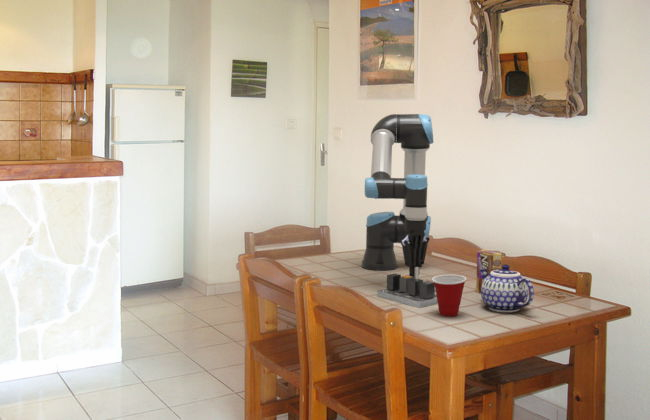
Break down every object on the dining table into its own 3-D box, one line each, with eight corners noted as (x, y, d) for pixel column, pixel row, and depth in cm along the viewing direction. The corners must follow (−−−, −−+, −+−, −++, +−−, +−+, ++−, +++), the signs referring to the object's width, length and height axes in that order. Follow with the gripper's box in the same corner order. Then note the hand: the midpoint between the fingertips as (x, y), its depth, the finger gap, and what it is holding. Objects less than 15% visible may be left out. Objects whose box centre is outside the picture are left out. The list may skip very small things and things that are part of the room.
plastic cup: (423, 312, 224) (424, 275, 223) (450, 308, 229) (451, 272, 228) (445, 320, 215) (446, 282, 213) (472, 316, 220) (473, 279, 219)
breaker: (407, 289, 246) (407, 274, 245) (413, 291, 244) (414, 276, 243) (399, 291, 243) (399, 276, 243) (405, 292, 241) (406, 277, 240)
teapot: (548, 315, 222) (550, 270, 220) (510, 321, 215) (513, 274, 213) (497, 297, 244) (498, 256, 242) (462, 301, 238) (463, 259, 236)
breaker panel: (415, 288, 258) (416, 269, 257) (458, 298, 243) (459, 278, 242) (377, 296, 245) (377, 276, 244) (419, 307, 230) (420, 286, 229)
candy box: (500, 295, 247) (502, 253, 245) (491, 297, 245) (492, 254, 243) (484, 290, 255) (486, 249, 253) (475, 291, 253) (476, 250, 251)
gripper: (420, 216, 250) (418, 280, 253) (394, 219, 242) (393, 285, 244) (436, 218, 244) (434, 284, 247) (410, 221, 236) (409, 289, 239)
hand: (414, 285), depth 246 cm, fingers closed
